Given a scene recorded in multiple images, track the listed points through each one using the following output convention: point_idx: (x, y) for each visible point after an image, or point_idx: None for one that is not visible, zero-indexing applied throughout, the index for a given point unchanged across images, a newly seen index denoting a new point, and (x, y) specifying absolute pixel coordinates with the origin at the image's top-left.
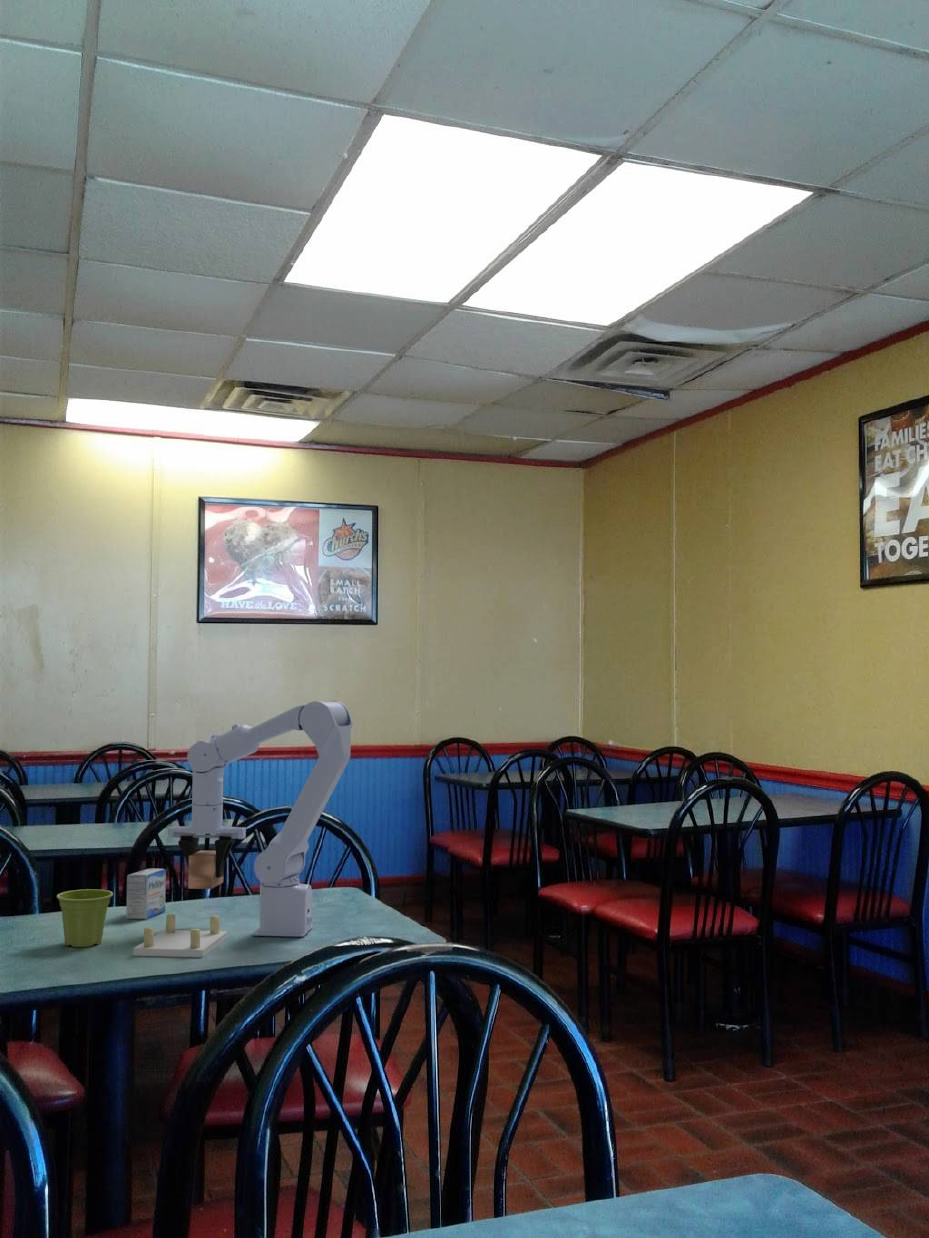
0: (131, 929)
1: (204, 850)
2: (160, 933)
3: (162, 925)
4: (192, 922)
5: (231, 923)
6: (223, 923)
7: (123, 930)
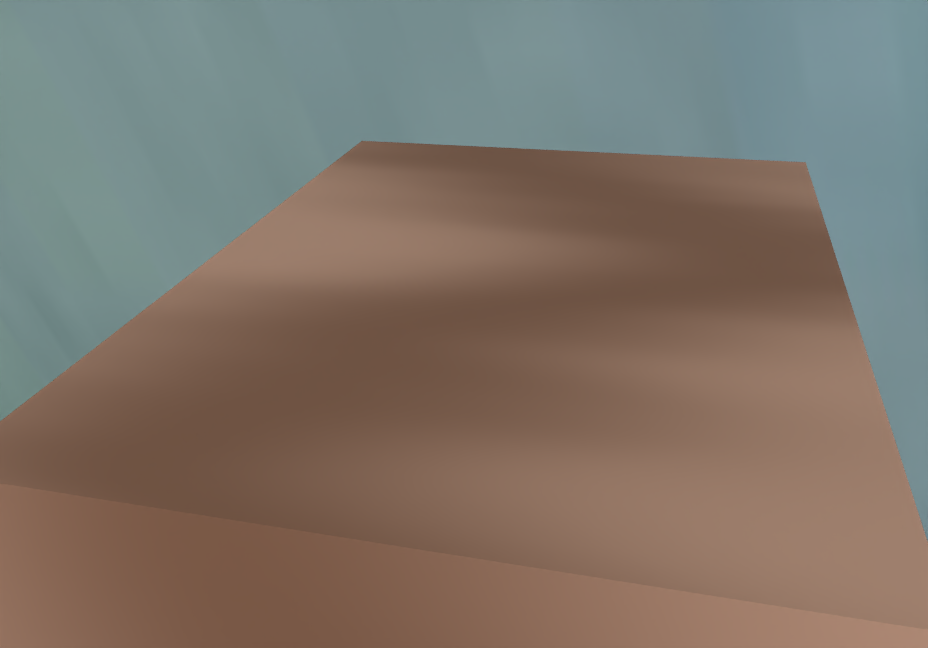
0: (81, 309)
1: (69, 507)
2: None
3: (224, 168)
4: (432, 20)
5: (874, 34)
6: (777, 42)
7: (50, 338)
